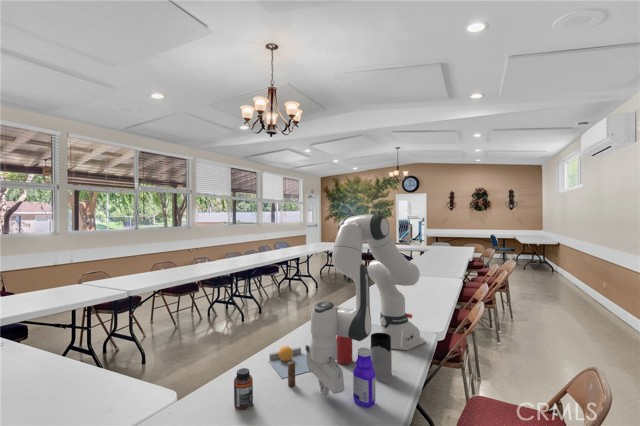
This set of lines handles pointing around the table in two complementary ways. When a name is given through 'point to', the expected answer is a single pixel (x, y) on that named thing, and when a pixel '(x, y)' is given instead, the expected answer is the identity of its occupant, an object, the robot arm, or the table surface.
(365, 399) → the bottle
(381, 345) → the glass holder
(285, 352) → the ball
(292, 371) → the left post
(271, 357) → the stopper wall
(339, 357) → the beer can
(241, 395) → the supplement bottle
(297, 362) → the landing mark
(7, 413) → the table surface
